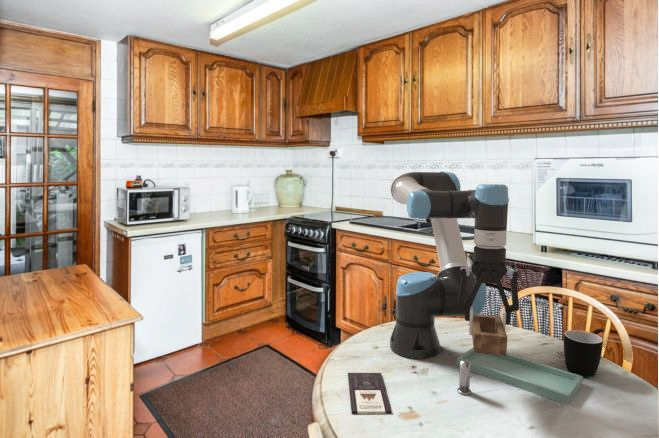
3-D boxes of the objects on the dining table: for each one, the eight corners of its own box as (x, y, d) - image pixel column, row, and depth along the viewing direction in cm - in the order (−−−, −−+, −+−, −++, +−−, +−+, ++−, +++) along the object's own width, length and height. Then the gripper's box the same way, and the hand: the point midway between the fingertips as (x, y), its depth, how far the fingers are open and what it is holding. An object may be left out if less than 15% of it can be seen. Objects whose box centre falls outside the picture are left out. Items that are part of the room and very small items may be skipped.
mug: (607, 381, 106) (610, 344, 105) (570, 379, 108) (572, 342, 106) (585, 360, 118) (587, 326, 117) (552, 358, 119) (554, 325, 118)
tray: (456, 365, 115) (457, 358, 115) (477, 351, 125) (477, 344, 124) (567, 405, 96) (567, 396, 95) (582, 384, 105) (582, 376, 105)
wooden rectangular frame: (473, 352, 94) (474, 333, 94) (471, 328, 109) (471, 312, 109) (506, 356, 92) (507, 337, 92) (499, 331, 107) (500, 314, 107)
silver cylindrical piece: (455, 391, 102) (456, 361, 101) (461, 387, 104) (462, 357, 103) (467, 396, 99) (468, 365, 98) (473, 391, 102) (474, 361, 101)
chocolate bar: (380, 372, 111) (391, 411, 93) (380, 376, 111) (391, 415, 93) (347, 372, 111) (351, 411, 93) (347, 376, 111) (351, 415, 93)
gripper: (448, 246, 101) (445, 335, 104) (536, 250, 95) (532, 344, 98) (448, 242, 108) (446, 325, 111) (530, 245, 102) (526, 333, 105)
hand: (486, 334), depth 104 cm, fingers closed on wooden rectangular frame, 7 cm apart
